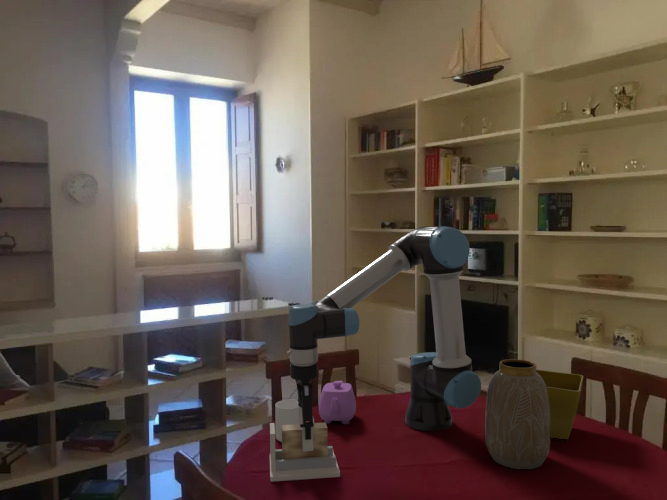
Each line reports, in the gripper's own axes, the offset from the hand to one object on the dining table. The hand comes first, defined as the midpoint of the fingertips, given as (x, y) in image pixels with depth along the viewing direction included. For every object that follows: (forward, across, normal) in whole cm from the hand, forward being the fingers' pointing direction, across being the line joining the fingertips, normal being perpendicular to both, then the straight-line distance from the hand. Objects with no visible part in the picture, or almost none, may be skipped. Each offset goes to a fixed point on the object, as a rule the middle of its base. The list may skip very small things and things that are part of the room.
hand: (305, 440), depth 149 cm
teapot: (+8, -34, +13) cm, 37 cm away
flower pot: (+9, -14, +77) cm, 79 cm away
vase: (+8, +4, +58) cm, 59 cm away
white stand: (+7, 0, -1) cm, 7 cm away
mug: (+8, -20, -2) cm, 21 cm away
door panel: (+6, 0, 0) cm, 6 cm away
